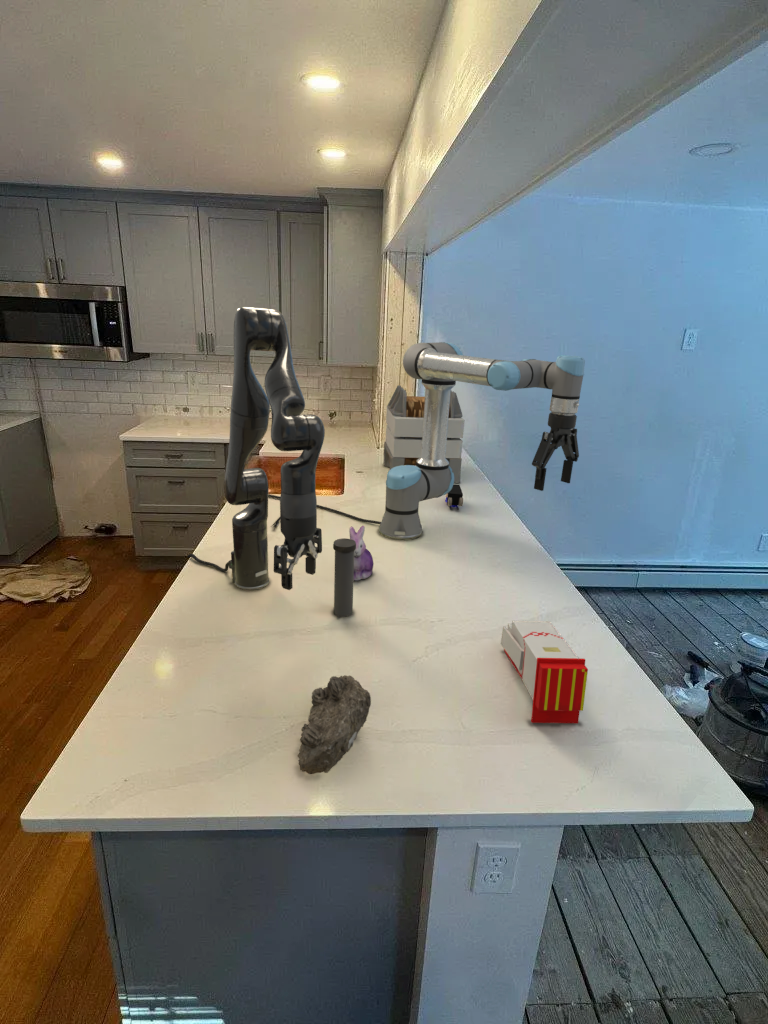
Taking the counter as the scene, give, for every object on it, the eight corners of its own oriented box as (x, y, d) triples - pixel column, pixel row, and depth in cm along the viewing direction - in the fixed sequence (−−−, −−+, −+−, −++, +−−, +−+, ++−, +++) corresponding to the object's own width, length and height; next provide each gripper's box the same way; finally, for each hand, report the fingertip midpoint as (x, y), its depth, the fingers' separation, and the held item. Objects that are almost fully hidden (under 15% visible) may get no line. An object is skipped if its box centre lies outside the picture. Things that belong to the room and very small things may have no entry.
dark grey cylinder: (333, 616, 145) (334, 547, 138) (334, 607, 149) (335, 540, 143) (351, 617, 145) (353, 548, 138) (353, 608, 149) (354, 540, 143)
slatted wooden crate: (382, 463, 289) (386, 382, 275) (445, 464, 293) (451, 384, 279) (390, 482, 257) (394, 392, 243) (460, 483, 261) (468, 394, 247)
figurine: (351, 584, 162) (352, 535, 157) (337, 569, 170) (338, 523, 165) (380, 578, 166) (383, 531, 161) (365, 564, 174) (367, 519, 169)
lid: (332, 552, 138) (332, 546, 138) (334, 543, 144) (334, 537, 143) (355, 553, 138) (355, 547, 138) (356, 544, 144) (356, 538, 143)
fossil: (305, 676, 114) (363, 644, 109) (335, 707, 117) (393, 676, 112) (276, 768, 94) (345, 733, 89) (313, 802, 97) (382, 770, 92)
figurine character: (463, 515, 225) (458, 499, 238) (465, 497, 221) (460, 482, 235) (446, 514, 224) (442, 498, 238) (448, 497, 221) (444, 482, 235)
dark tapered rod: (290, 508, 223) (292, 504, 223) (272, 532, 197) (275, 527, 196) (286, 505, 223) (289, 501, 223) (268, 529, 197) (271, 525, 196)
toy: (547, 606, 135) (596, 665, 106) (541, 658, 138) (589, 729, 108) (496, 604, 134) (532, 664, 105) (492, 657, 137) (526, 729, 108)
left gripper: (303, 498, 125) (304, 565, 131) (262, 517, 113) (264, 589, 119) (332, 504, 122) (331, 572, 128) (292, 524, 110) (293, 598, 116)
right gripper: (548, 419, 148) (537, 496, 155) (598, 411, 163) (586, 482, 171) (525, 414, 153) (515, 489, 160) (575, 407, 169) (564, 476, 176)
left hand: (299, 580), depth 123 cm, fingers open, 8 cm apart
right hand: (552, 485), depth 166 cm, fingers open, 13 cm apart
